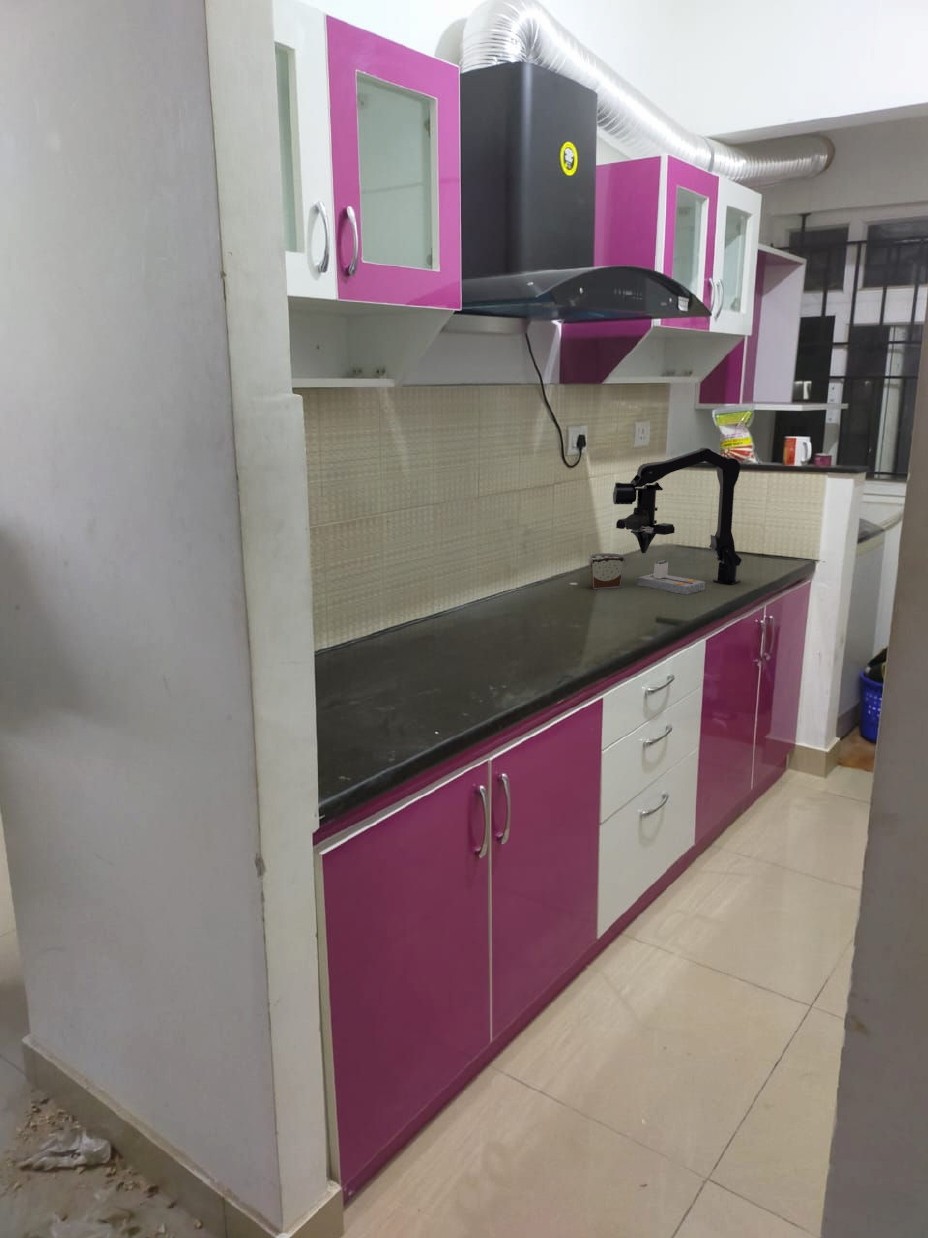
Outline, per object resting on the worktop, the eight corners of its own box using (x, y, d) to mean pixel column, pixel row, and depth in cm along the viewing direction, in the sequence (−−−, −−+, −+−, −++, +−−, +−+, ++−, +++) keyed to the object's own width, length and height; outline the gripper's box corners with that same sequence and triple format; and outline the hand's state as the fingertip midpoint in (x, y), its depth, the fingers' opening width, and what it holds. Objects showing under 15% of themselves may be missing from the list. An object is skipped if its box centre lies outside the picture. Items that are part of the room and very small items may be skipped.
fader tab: (660, 575, 293) (661, 559, 291) (667, 576, 291) (668, 560, 290) (653, 577, 290) (654, 561, 288) (660, 578, 288) (661, 562, 287)
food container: (615, 582, 295) (616, 551, 292) (624, 586, 289) (626, 555, 286) (580, 585, 291) (581, 554, 288) (589, 589, 285) (590, 557, 283)
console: (655, 580, 298) (656, 572, 297) (704, 589, 285) (705, 581, 285) (637, 585, 291) (638, 577, 290) (686, 594, 279) (687, 586, 278)
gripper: (606, 503, 290) (604, 552, 294) (656, 509, 278) (653, 560, 282) (627, 500, 298) (625, 548, 302) (677, 506, 285) (673, 555, 289)
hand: (643, 553), depth 293 cm, fingers closed
